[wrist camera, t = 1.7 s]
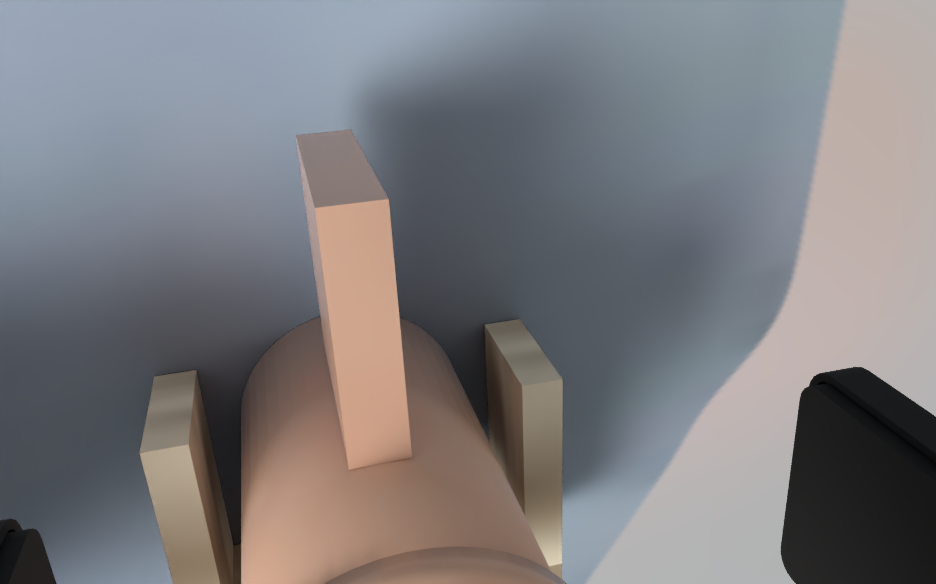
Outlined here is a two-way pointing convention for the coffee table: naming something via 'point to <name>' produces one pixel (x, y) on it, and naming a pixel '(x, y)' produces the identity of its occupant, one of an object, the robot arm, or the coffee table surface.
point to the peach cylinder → (368, 423)
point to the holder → (199, 490)
